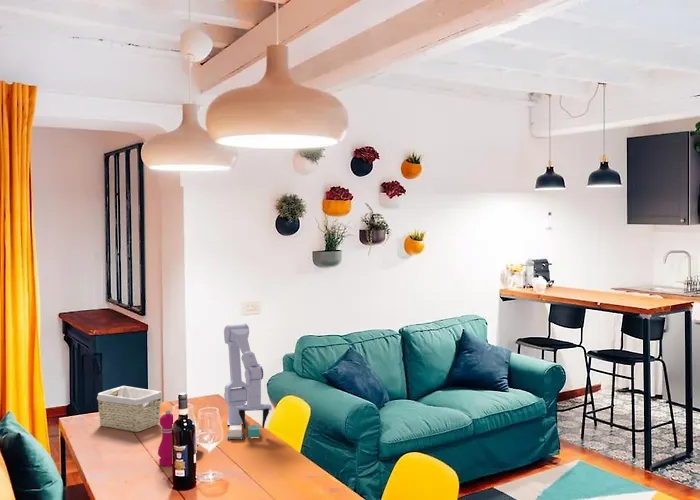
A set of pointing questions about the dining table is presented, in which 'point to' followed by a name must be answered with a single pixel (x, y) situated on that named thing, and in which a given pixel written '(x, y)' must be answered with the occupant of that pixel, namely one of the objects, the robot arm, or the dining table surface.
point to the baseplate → (234, 437)
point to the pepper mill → (166, 440)
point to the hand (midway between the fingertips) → (253, 427)
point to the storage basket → (129, 408)
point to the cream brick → (235, 431)
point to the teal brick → (253, 431)
